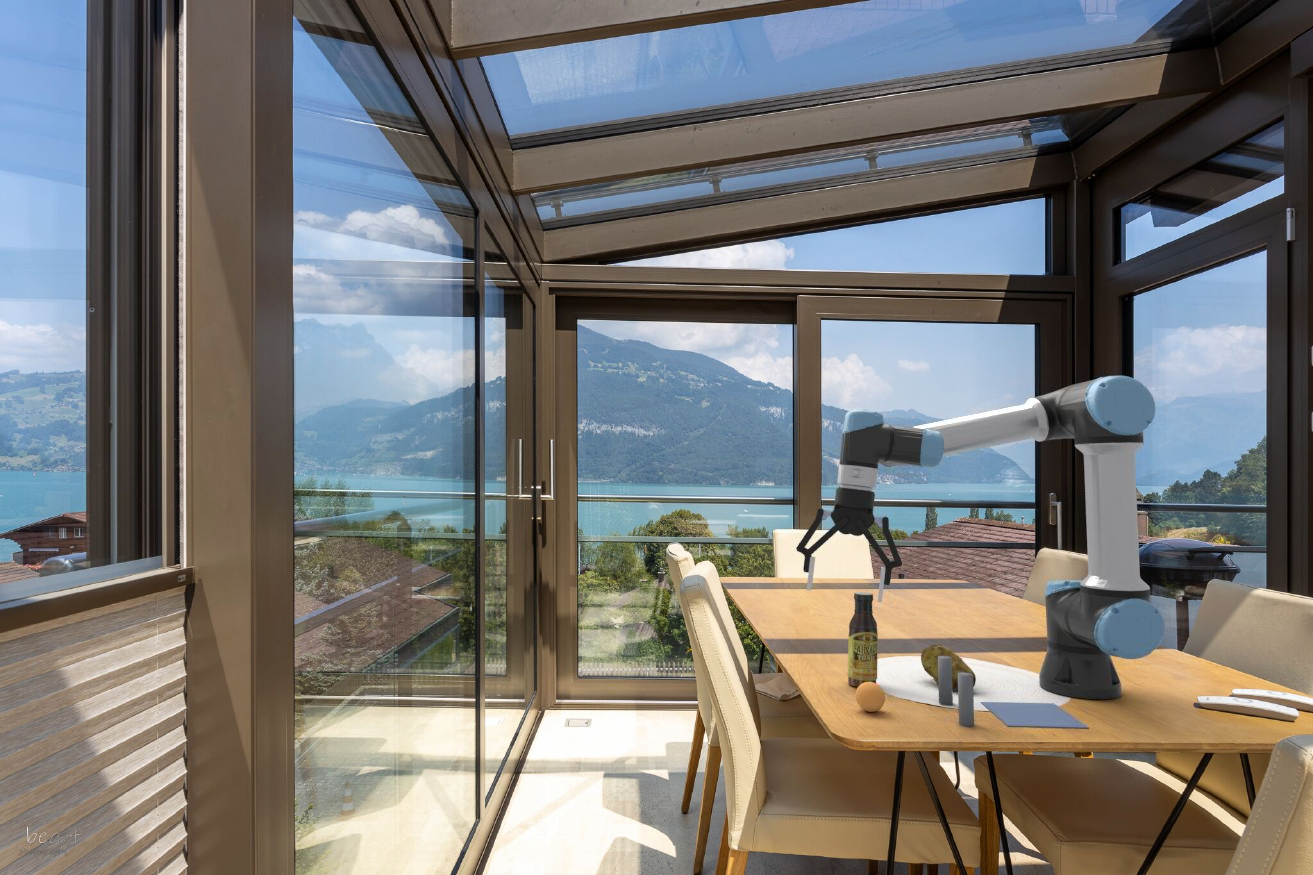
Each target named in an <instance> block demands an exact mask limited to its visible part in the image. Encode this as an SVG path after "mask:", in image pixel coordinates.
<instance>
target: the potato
mask: <svg viewBox="0 0 1313 875" xmlns="http://www.w3.org/2000/svg"><path fill="white" fill-rule="evenodd" d="M938 656H948V657H951V658H952V691H958V673H960V672H965V673H971V674H973V688H974V687H975V685H976V682H977V676H976V674H975V672H974V671H973V670H972V669H971V667H970V666H969V665H968V664H967V663H965V661H964V660H963V658H961V657H960V656H959V655H958V654H956V653H955V652H953V651H952V650H951V649H950V648H948V647H947V646H945V645H942V644H932V645H930V646H928V647H925V648H924V649H923V650H922V652H921V655H920V661H921V665H922V668H923V670H924V671H925V673H927V674H928V675H929V676H930V677H931V678H932V679H933V681H934V682H935V683H936V684H937V685H938Z"/></svg>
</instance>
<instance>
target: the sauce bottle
mask: <svg viewBox="0 0 1313 875" xmlns="http://www.w3.org/2000/svg"><path fill="white" fill-rule="evenodd" d="M853 599H854V614H853V615H852V618H851V619H850V620H849V624H848V625H849V626H848V640H847V641H848V645H847V680H848V684H849V685H850V686H852V687H856V688H858V687H859V686H860V685H861V684H862V683H865V682H873V683H876V684H877V680H878V659H879V658H878V656H879V655H878V654H879V653H878V652H879V651H878V650H879V649H878V648H879V647H878V644H879V643H878V641H879V635H878V634H879V633H878V625H877V624H878V623H877V620H876V619H875V617H874V615H873V613H874V612H873V601H874V594H873V593H871V592H864V591H856V592H854V593H853Z"/></svg>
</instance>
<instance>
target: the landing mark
mask: <svg viewBox="0 0 1313 875" xmlns="http://www.w3.org/2000/svg"><path fill="white" fill-rule="evenodd" d="M980 704H982V705H983V706H984V707H985V708H986V709H987V710H988V711H989V712H991V713H992V714H993V715H994V716H995V717H996V718H997V719H998V720H1000V721H1001V722H1002V723H1004V725H1006V726H1007V727H1013V728H1015V727H1016V728H1017V727H1020V728H1050V729H1051V728H1053V729H1054V728H1057V729H1058V728H1059V729H1060V728H1061V729H1089V726H1088V725H1086V724H1085V723H1083V722H1082V721H1080V720H1078V718H1076V717H1074V716H1073V715H1071V714H1070V713H1069V712H1067V711H1065V709H1063V708H1061V707H1060V706H1058V705H1057V704H1056V703H1052V702H1051V703H1050V702H1045V703H1044V702H1014V701H1013V702H1004V701H1001V702H1000V701H980Z"/></svg>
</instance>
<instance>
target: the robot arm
mask: <svg viewBox="0 0 1313 875" xmlns="http://www.w3.org/2000/svg"><path fill="white" fill-rule="evenodd" d="M1155 415H1156V402H1155V399H1154V397H1153V394H1152V393H1151V391H1150V390H1149V389H1148V387H1147V386H1145V385H1144V384H1143V383H1142V382H1140V380H1137V379H1136V378H1133V377H1130V376H1126V375H1108V376H1100V377H1098V378H1096V379H1095V378H1094V379H1092V380H1091V379H1090V380H1087V381H1084V382H1079V383H1075V384H1071V385H1068V386H1066V387H1063V388H1060V389H1058V390H1055V391H1052V392H1049V393H1046V394H1043V395H1039V396H1034V397H1030V398H1028V399H1026V401H1025V402H1024V403H1022V404H1019V405H1014V406H1009V407H1003V408H999V409H994V410H989V411H984V412H979V413H974V414H969V415H965V416H960V417H955V418H950V419H945V420H940V421H935V422H931V423H925V424H920V425H916V426H911V427H910V426H903V425H902V426H901V425H895V424H894V425H892V424H888V423H885V420H884V415H883V414H882V413H880V412H877V411H873V410H872V411H871V410H861V409H856V410H853V409H852V410H850V411H847V412H846V413H845V417H844V421H843V427H842V431H841V435H842V436H841V443H840V444H841V446H840V454H839V464H838V469H837V470H838V471H837V479H836V484H837V485H839V486H838V487H837V488H836V489H835V496H834V505H833V509H832V511H830V510H827V509H824V508H822V507H821V508H818V509H817V512H816V516H815V519H814V520H813V522H812V523H811V525H810V527H809V528H808V529H807V531H806V533H805V534H804V536H803V537H802V539H801V540H800V541H799V543H798V544H797V546H796V547H795V548H796V549H795V550H796V551H797V552H799V553H800V554H802V555H803V556H804V559H803V569H802V570H803V573H808V574H807V584H806V591H810V592H811V590H812V588H813V580H814V573H815V564H816V563H815V562H816V556H812V555H814V553H815V552H816V551H817V550H819V549H820V548H821V547H822V546H823V545H824V544H826V542H828V540H830V539H831V537H833V536H834V535H835V534H836V533H838V532H839V533H841V534H842V535H845V536H846V535H852V536H856V537H861V536H864V537H865V539H866V540H867V541H868V543H869V545H870V546H871V548H872V549H873V550H874V551H875V553H876V554H877V556H878V557H879V559H880V560H881V562H882V563H883V565H884V566H881V568H880V576H879V577H880V578H879V585H878V586H879V587H878V596H877V602H878V603H882V602H883V593H884V585H885V586H890V584H891V579H892V578H891V577H892V571H893V569H894V568H900V567H902V565H903V561H902V559H901V557H900V556H901V555H900V554H899V551H898V548H897V546H896V544H895V541H894V538H893V536H892V534H891V533H892V532H891V531H890V522H889V521H890V520H889V517H888V516H883V517H882V516H880V517H879V516H874V506H875V497H876V493H875V492H874V491H873V489H874V490H875V489H876V487H877V481H878V480H877V479H878V472H879V471H878V469H879V465H881V466H883V467H888V468H891V467H897V466H900V467H901V466H902V467H903V466H904V467H905V466H914V467H916V466H917V467H921V468H924V467H925V468H936V467H937V466H938V465H940V463H941V461H942V459H943V457H945V456H950V455H955V454H956V455H957V454H961V453H964V452H971V451H975V450H980V449H987V448H990V447H995V446H1001V445H1004V444H1005V445H1006V444H1011V443H1016V442H1020V441H1026V440H1030V439H1032V440H1034V441H1036V442H1045V441H1051V440H1063V439H1074V447H1075V448H1076V449H1077V450H1078V451H1079V452H1081V453H1082V454H1083V465H1084V467H1083V468H1084V469H1083V470H1084V489H1085V490H1084V492H1085V494H1084V495H1085V497H1084V498H1085V517H1086V518H1085V520H1086V522H1085V523H1086V541H1087V542H1086V543H1087V568H1088V574H1087V576H1086V577H1084V578H1083V579H1081V580H1077V579H1076V580H1073V579H1072V580H1069V579H1068V580H1063V579H1062V580H1049V581H1048V582H1047V583H1046V585H1045V594H1044V599H1045V613H1046V615H1045V618H1046V621H1045V622H1046V640H1047V644H1046V645H1047V648H1046V650H1047V651H1046V653H1045V656H1044V660H1043V662H1042V665H1041V668H1040V671H1039V676H1038V677H1039V678H1038V679H1039V686H1040V687H1041V688H1043V689H1044V690H1046V691H1048V692H1052V693H1054V694H1057V695H1061V696H1065V697H1066V696H1067V697H1070V698H1071V697H1072V698H1077V699H1084V700H1085V699H1086V700H1113V699H1117V698H1119V697H1121V696H1122V694H1123V693H1122V692H1123V691H1122V682H1121V679H1120V677H1119V675H1118V672H1117V669H1116V666H1115V664H1114V662H1113V659H1112V657H1114V658H1115V657H1116V658H1120V659H1123V660H1139V659H1142V658H1145V657H1147V656H1149V655H1151V654H1152V653H1153V652H1154V651H1155V650H1156V649H1158V648H1159V646H1160V645H1161V643H1162V641H1163V640H1164V636H1165V632H1166V625H1165V619H1164V616H1163V615H1162V613H1161V611H1160V610H1158V609H1157V607H1156V606H1155V605H1154V604H1153V603H1151V588H1150V585H1148V584H1147V583H1146V582H1145V581H1144V580H1143V579H1142V578H1141V575H1140V574H1141V573H1140V572H1141V571H1140V550H1139V549H1140V545H1139V524H1138V523H1139V522H1138V521H1139V520H1138V498H1137V479H1136V478H1137V477H1136V475H1137V474H1136V452H1138V450H1140V449H1141V448H1142V447H1143V446H1144V431H1145V430H1146V429H1148V427H1149V426H1150V424H1151V423H1153V420H1154V419H1155ZM828 517H830V518H831V520H832V522H833V524H834V525H833V526H832V527H831V528H829V530H828V531H827V532H825V533H824V534H823V535H822V536H821V537H820V538H819V539H818V540H817V541H815V543H813V544H812V545H811V546H809V548H807V547H806V546H807V545H808V543H809V542H810V540H812V537H813V536H814V535H815V532H816V531H817V530H818V528H819V527H820V525H821V524H822V522H823V521H825V520H827V519H828ZM874 523H876V524H877V526H878V527H879V528H881V529H882V532H883V535H884V537H885V540H886V542H887V545H888V548H889V550H890V553H891V556H892V557H893V560H890V559H889V557H888V556H887V554H886V552H884V550H883V549H882V547H881V546H880V544H879V543H878V541H877V540H876V538H875V537H874V535H873V534H872V532H871V531H870V528H871V527H872V526H873V524H874Z"/></svg>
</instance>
